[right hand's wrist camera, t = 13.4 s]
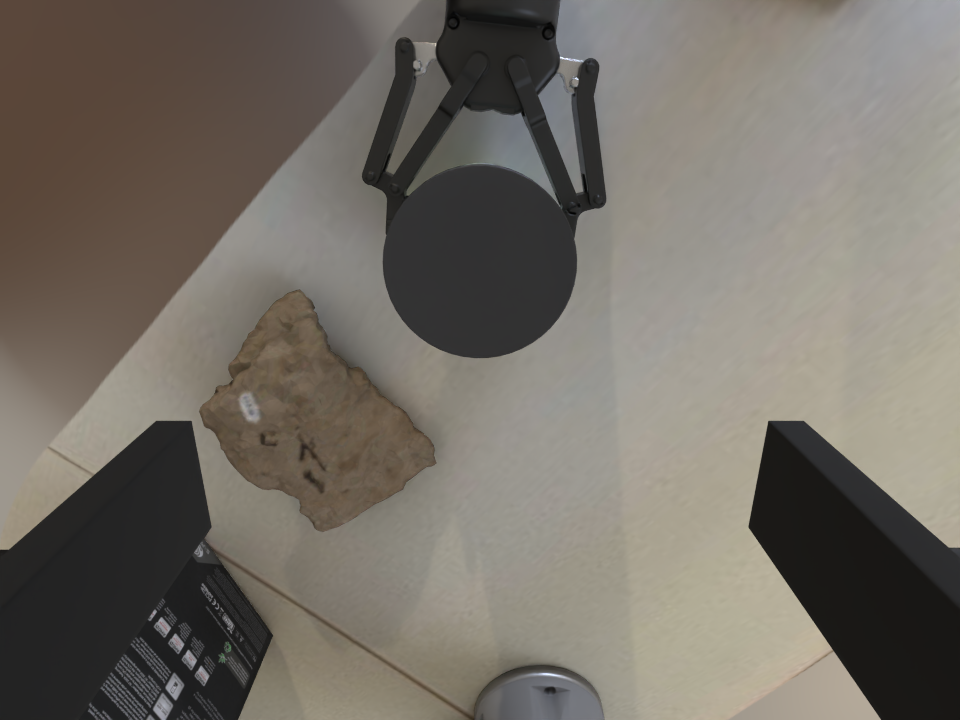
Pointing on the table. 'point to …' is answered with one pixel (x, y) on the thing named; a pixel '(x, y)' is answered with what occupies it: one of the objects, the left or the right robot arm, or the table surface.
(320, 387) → the stone
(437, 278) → the lid
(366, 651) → the table surface
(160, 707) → the graphics card box
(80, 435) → the table surface
